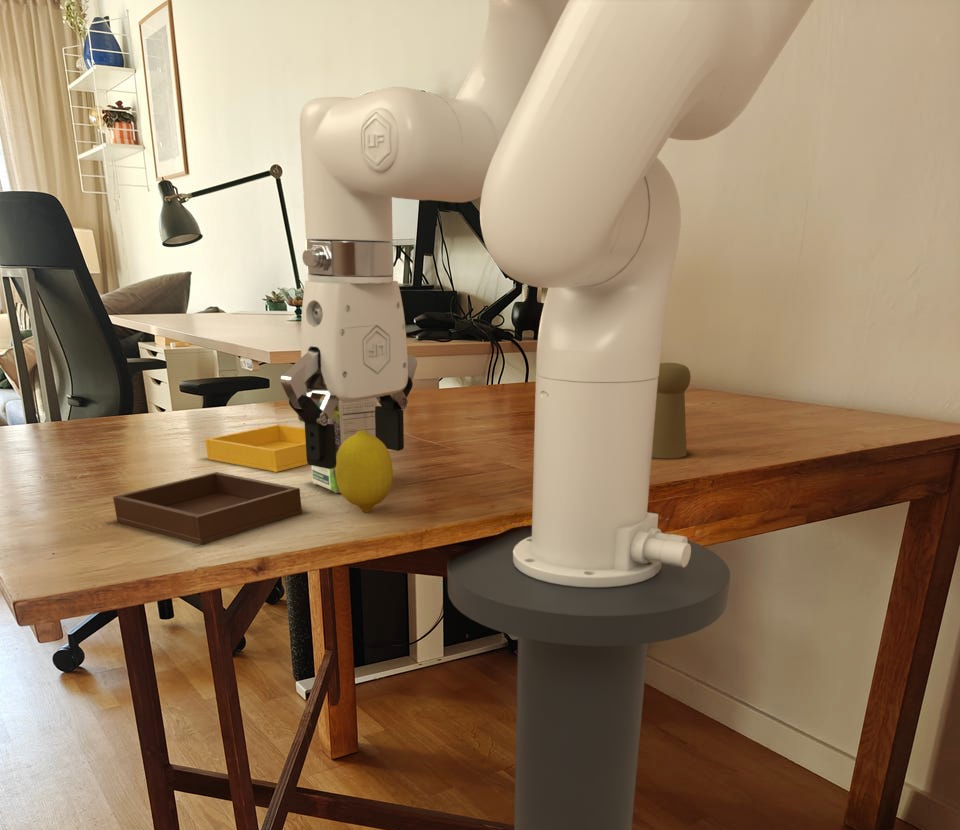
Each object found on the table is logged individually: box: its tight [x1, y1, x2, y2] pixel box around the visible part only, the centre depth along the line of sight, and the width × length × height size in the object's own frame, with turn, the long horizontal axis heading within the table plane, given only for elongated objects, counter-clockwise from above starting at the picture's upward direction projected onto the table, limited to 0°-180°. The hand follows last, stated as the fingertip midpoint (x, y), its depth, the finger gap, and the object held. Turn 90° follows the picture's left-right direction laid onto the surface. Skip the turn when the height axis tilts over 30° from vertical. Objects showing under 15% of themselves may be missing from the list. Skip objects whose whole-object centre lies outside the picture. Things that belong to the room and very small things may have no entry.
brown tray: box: [112, 471, 303, 545], centre depth 83 cm, size 12×12×2 cm
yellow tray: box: [204, 423, 309, 473], centre depth 108 cm, size 12×12×2 cm
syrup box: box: [306, 392, 378, 494], centre depth 92 cm, size 6×6×14 cm
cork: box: [652, 362, 692, 459], centre depth 108 cm, size 6×6×11 cm
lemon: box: [335, 430, 394, 513], centre depth 83 cm, size 6×6×8 cm
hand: (357, 457), depth 83 cm, fingers open, 9 cm apart
